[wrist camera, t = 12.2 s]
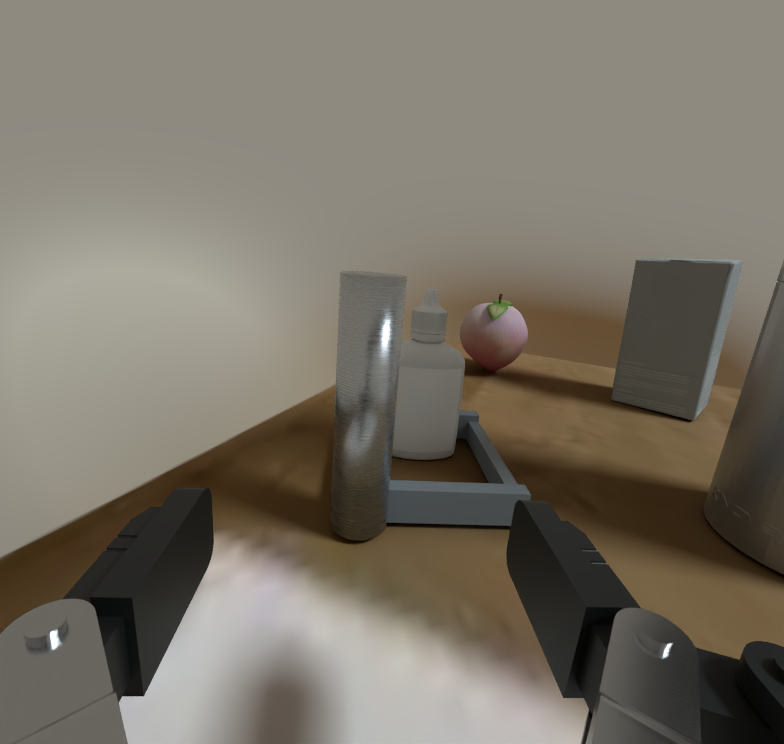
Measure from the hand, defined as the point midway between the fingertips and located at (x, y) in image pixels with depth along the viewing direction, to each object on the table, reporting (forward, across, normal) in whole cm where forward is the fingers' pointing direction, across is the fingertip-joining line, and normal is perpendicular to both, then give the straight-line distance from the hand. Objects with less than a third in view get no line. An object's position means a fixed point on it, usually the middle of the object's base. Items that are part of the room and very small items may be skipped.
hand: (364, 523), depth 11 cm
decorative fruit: (+42, -16, +8) cm, 46 cm away
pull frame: (+16, -4, +7) cm, 18 cm away
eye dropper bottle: (+19, -4, +8) cm, 21 cm away
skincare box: (+33, -32, +8) cm, 46 cm away
